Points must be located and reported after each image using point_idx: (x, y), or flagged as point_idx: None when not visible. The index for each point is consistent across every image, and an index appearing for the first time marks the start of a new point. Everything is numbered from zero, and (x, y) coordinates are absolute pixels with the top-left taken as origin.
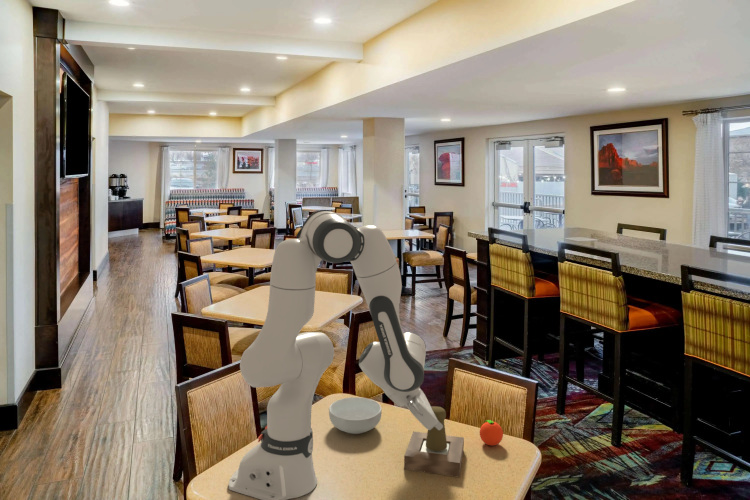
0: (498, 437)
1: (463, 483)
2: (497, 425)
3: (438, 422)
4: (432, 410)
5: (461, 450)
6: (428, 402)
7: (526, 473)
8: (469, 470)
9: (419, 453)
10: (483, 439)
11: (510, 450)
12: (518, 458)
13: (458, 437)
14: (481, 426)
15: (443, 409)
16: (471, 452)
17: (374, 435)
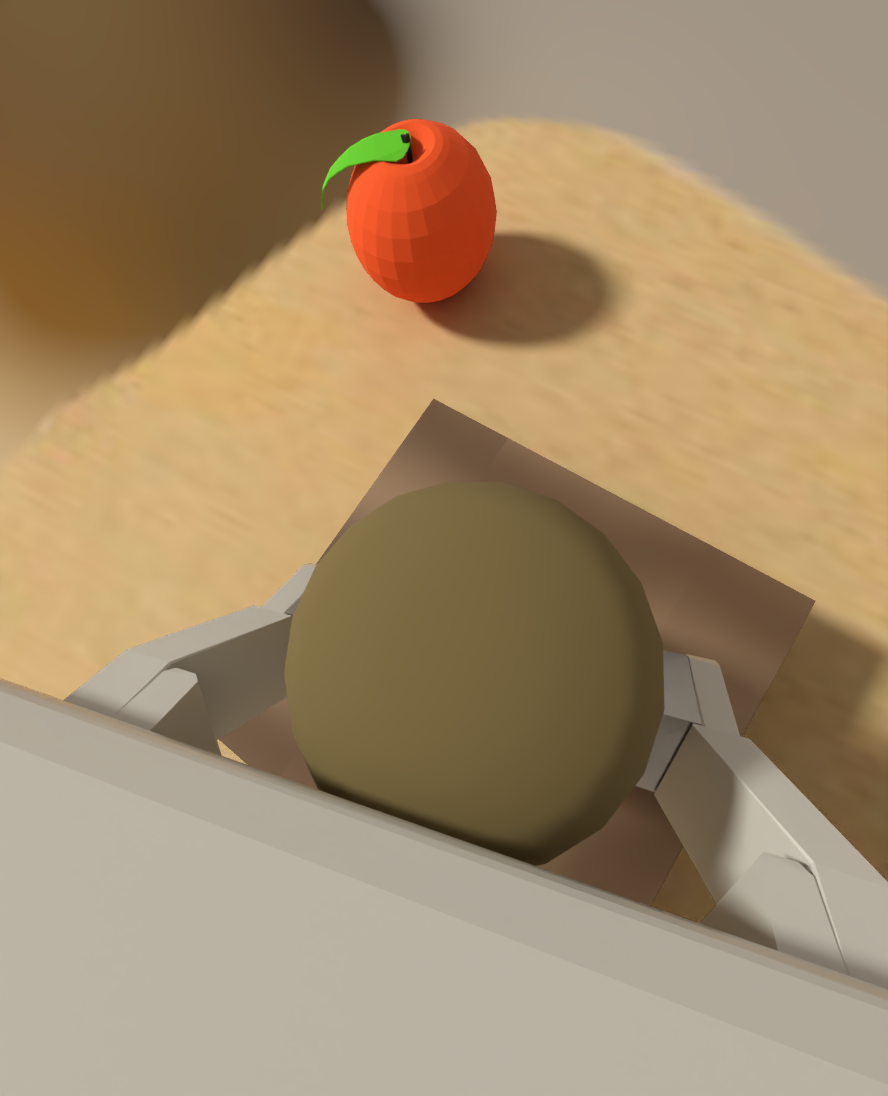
0: (494, 199)
1: (839, 625)
2: (442, 127)
3: (766, 771)
4: (873, 1093)
5: (614, 497)
6: (171, 808)
7: (788, 235)
8: (684, 514)
9: (572, 871)
10: (443, 291)
11: (528, 214)
12: (620, 211)
13: (419, 433)
14: (371, 232)
15: (522, 516)
16: (483, 410)
17: None
